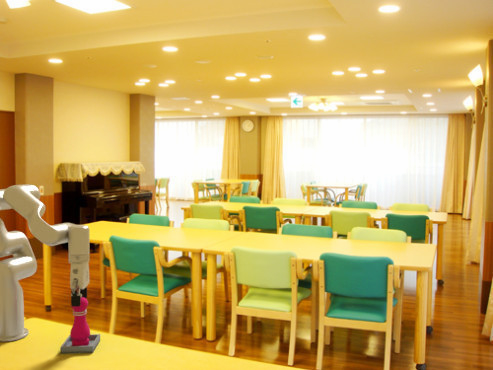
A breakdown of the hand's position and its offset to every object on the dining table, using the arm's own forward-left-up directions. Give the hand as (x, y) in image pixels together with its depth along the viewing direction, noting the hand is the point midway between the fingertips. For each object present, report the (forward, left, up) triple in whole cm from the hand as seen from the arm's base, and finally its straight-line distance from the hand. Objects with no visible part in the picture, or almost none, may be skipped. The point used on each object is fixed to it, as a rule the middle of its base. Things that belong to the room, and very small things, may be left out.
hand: (79, 302), depth 180 cm
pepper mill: (0, 0, -17) cm, 17 cm away
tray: (0, 0, -18) cm, 18 cm away
